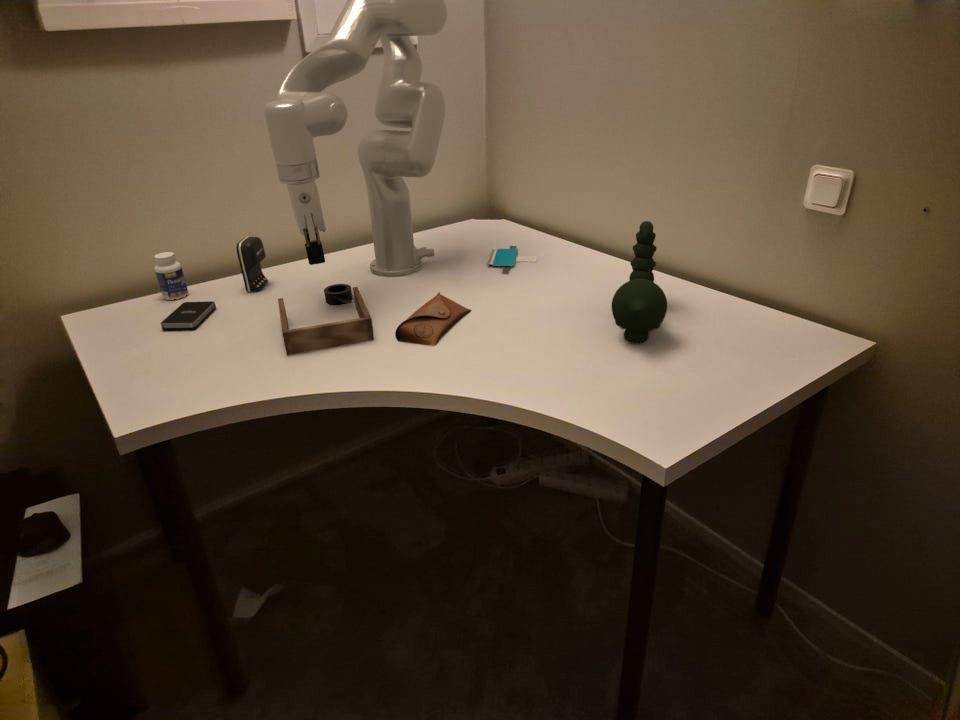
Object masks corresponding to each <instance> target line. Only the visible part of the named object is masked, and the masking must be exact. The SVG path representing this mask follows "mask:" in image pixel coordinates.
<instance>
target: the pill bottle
mask: <svg viewBox="0 0 960 720" xmlns="http://www.w3.org/2000/svg"><path fill="white" fill-rule="evenodd" d="M154 260H155V263H156V265H155V266H154V273H155V276H156V279H157V283H158V286H159V288H160V292H161V296H162V298H163V300H166V301H175V300H174V299H177V300H181V299H183V298H185V297H187V296H188V295H189V290H188V286H187V282H186V279H185V278H186V277H185V274H184V271H183V268H182V265H181V263H180V262H179V261H176V255H175V253H174V251H173V252H171V251H165V252H160V253H157V254H155V255H154ZM186 295H187V296H186ZM182 297H183V298H182ZM180 298H181V299H180Z"/></svg>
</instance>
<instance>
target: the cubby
mask: <svg viewBox="0 0 960 720" xmlns="http://www.w3.org/2000/svg"><path fill="white" fill-rule="evenodd" d="M352 294H353V300H354V306H355V310H356V312H357V315H358V318H353V319H346V320H341V321H334V322H328V323H322V324H317V325H316V324H315V325H310V326H304V327H298V328H291V329H290V328H289V323H288V316H287V312H286V307H285V302H284V301H285V300H284V298H283V297H280V298H277V303H278V310H279V318H280V319H279V320H280V326H281V334H282V338H283V344H284V349H285V354H286V356H291V355H298V354H304V353H310V352H315V351H321V350H325V349H326V350H327V349H332V348H336V347H337V348H338V347H342V346H343V347H344V346H348V345H350V346H351V345H355V344H361V343H366V342H372V341H375V336H374V335H375V334H374V326H373V321H372V316H371V314H370V311H369V308H368V307H367V305H366V302H365V300H364V298H363V296H362V294H361V292H360V289H359V286H353V287H352Z"/></svg>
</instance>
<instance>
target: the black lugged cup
mask: <svg viewBox="0 0 960 720" xmlns="http://www.w3.org/2000/svg"><path fill="white" fill-rule="evenodd" d="M323 293H324V294H323V295H324V300H325V303H326V304H327V305H328V306H335V307H336V306H337V307H338V306H344V305H347V304H355V301H353V300H354V295H353V288H352V286H351V285H350V284H348V283H336V284H331V285H327V286H326V287H325V288H324V289H323Z"/></svg>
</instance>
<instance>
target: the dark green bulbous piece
mask: <svg viewBox="0 0 960 720" xmlns="http://www.w3.org/2000/svg"><path fill="white" fill-rule="evenodd" d="M656 237H657V235H656V233H655V232H654V224H653V223H652V222H651V221H649V220H645V221H642V222H641V223H640V225H639V230H638V231H637V232H636V233H635V239H636V243H635V244H634V245H633V246H632V250H633V254H634V256H635V257H633V259H632V260H631V261H630V266H631V268H632V271H631V272H630V274H629V278H628V280H629V281H626V282H625V283H623V284H622V285H620V286H619V288H617V290H616V292H615V293H614V295H613V296H612V297H613V298H612V300H611V312H612V317H613V319H614V322H615V325H616V326H618V327H621V328H622V329H623V330H624V331H623V338H624V340H625V341H626V342H628V343H630V344H639V345H640V344H645V343H646V342H647V341H648V340H649V337H650V331H654V330H657V329H659V328H660V327H661V324H662V323H663V321H664V319H665V317H666V315H667V312H668V299H667V296H666V294H665V292H664V290H663V289H662V288H661V287H660V286H659V285H658V284H657V283H655V275H654V273H653V271H654V268H656V266H657V263H656V261H655V259H654V258H653V257H654V255H655V252H656V251H657V249H658V248H657V246H656V245H655V244H654V243H655V240H656Z"/></svg>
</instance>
